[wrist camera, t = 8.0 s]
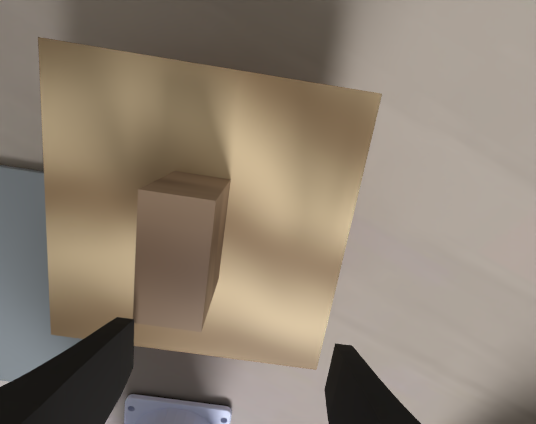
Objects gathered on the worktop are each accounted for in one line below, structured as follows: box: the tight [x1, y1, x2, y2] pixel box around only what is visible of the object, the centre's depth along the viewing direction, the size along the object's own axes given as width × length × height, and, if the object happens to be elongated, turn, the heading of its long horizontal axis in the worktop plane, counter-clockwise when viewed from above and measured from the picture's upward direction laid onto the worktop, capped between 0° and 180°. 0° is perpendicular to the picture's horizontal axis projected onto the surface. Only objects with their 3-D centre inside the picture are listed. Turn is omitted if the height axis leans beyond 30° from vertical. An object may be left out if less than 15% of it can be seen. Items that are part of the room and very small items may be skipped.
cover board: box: [38, 37, 382, 370], centre depth 13 cm, size 14×14×5 cm
